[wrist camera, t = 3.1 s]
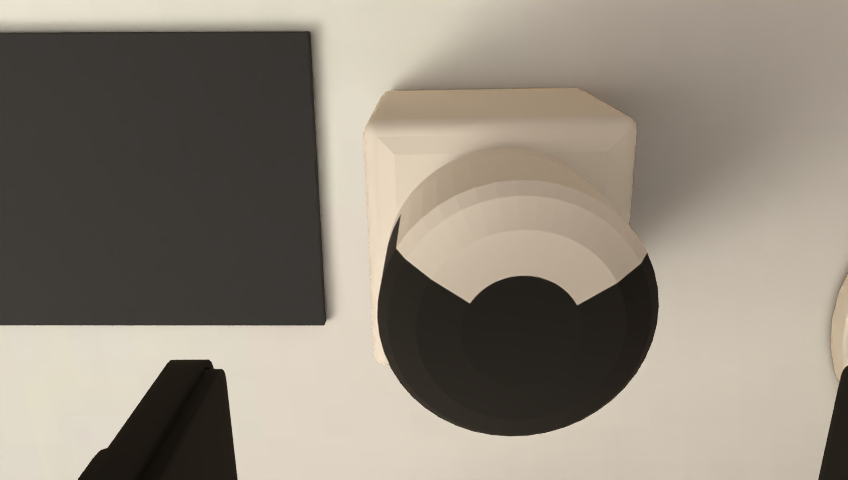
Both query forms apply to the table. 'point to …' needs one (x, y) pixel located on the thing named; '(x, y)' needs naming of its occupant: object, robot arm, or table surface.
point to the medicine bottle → (506, 254)
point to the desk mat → (159, 179)
